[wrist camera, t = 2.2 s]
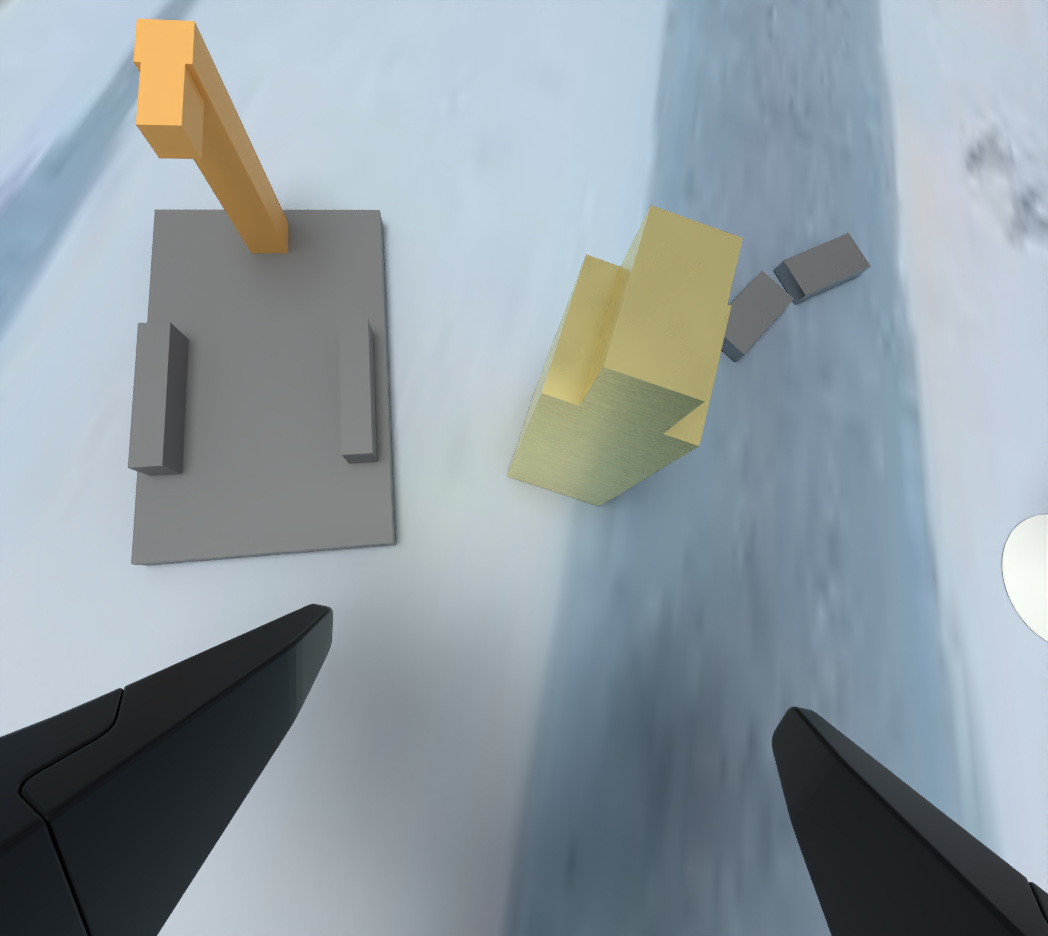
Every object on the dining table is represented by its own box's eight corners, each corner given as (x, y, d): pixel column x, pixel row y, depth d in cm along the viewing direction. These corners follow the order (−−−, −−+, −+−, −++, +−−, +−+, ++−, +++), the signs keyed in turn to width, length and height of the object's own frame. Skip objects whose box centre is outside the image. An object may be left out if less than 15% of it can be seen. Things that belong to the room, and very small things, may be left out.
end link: (599, 506, 24) (748, 416, 12) (507, 476, 24) (558, 351, 12) (623, 419, 25) (782, 252, 13) (535, 389, 25) (610, 191, 13)
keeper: (395, 544, 23) (348, 510, 13) (146, 565, 21) (-112, 544, 12) (382, 224, 26) (338, 10, 17) (166, 224, 25) (-19, -9, 15)
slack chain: (862, 272, 29) (875, 262, 28) (652, 427, 26) (659, 421, 25) (819, 223, 30) (830, 212, 29) (606, 369, 26) (611, 361, 25)
